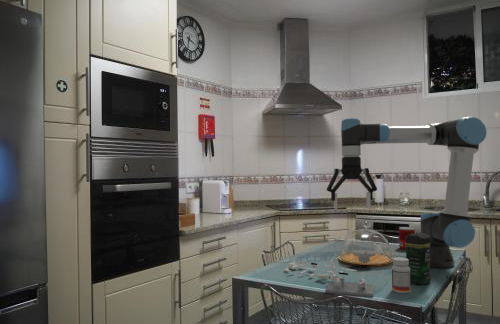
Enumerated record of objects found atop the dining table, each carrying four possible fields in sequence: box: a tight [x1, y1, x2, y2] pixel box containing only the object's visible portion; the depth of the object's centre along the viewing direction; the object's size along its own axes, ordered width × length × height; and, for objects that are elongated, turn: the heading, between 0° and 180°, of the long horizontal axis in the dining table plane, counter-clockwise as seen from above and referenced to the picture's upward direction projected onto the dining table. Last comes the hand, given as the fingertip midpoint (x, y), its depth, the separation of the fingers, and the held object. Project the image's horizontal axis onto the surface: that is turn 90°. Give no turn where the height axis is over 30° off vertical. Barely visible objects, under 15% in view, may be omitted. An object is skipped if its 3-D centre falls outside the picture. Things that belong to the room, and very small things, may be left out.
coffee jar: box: [405, 232, 432, 285], centre depth 153 cm, size 10×8×19 cm
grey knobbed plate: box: [325, 276, 376, 298], centre depth 144 cm, size 16×12×4 cm
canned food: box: [398, 226, 416, 251], centre depth 217 cm, size 8×8×11 cm
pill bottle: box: [391, 256, 412, 294], centre depth 142 cm, size 6×6×11 cm
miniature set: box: [283, 258, 358, 281], centre depth 164 cm, size 6×35×12 cm
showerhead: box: [352, 248, 376, 264], centre depth 179 cm, size 9×7×10 cm
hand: (352, 208), depth 164 cm, fingers open, 13 cm apart
